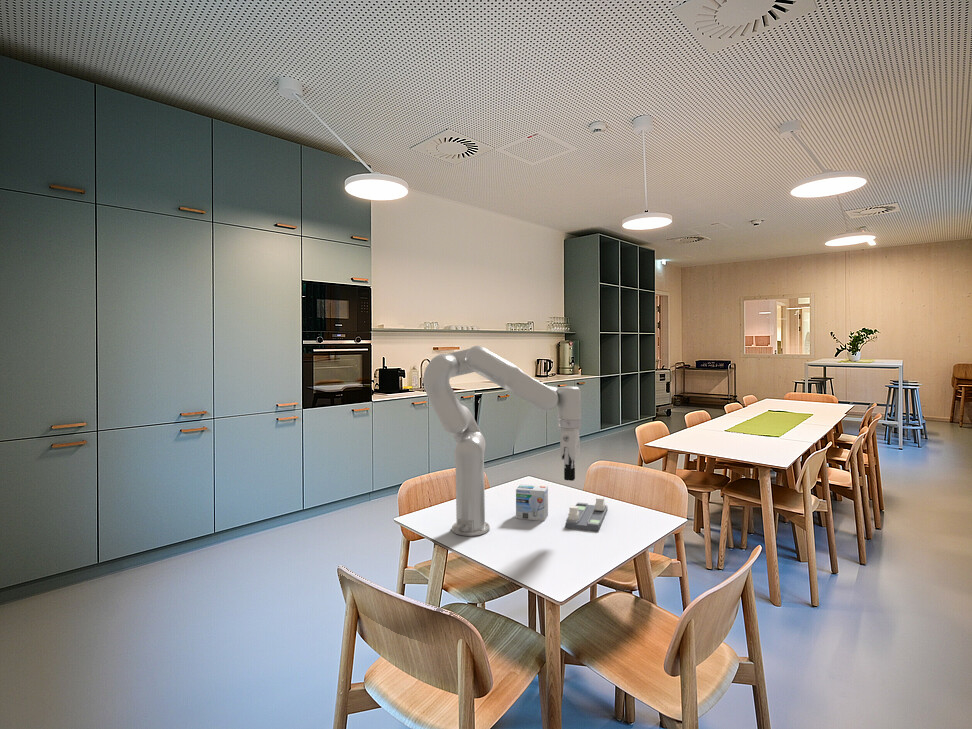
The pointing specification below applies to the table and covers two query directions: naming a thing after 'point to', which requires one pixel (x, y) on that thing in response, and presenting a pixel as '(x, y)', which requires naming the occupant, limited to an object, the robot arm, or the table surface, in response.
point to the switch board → (587, 518)
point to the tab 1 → (573, 513)
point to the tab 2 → (600, 504)
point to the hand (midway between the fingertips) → (569, 479)
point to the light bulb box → (532, 502)
